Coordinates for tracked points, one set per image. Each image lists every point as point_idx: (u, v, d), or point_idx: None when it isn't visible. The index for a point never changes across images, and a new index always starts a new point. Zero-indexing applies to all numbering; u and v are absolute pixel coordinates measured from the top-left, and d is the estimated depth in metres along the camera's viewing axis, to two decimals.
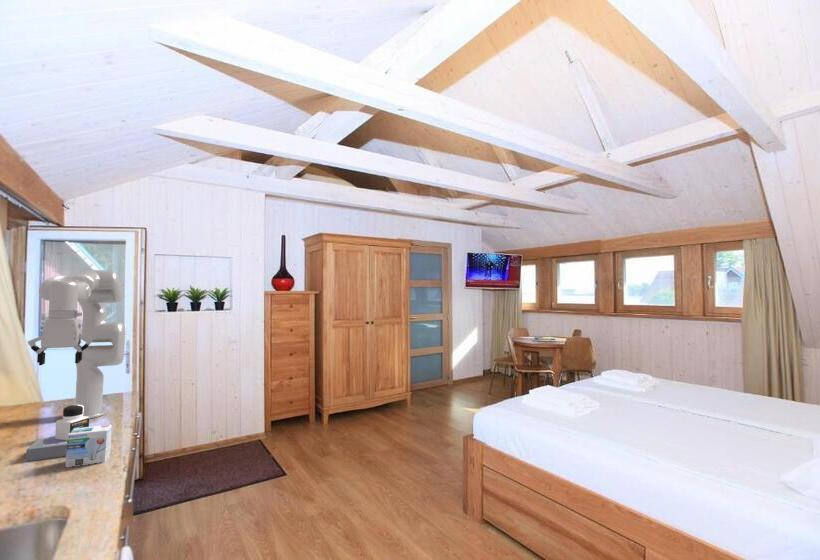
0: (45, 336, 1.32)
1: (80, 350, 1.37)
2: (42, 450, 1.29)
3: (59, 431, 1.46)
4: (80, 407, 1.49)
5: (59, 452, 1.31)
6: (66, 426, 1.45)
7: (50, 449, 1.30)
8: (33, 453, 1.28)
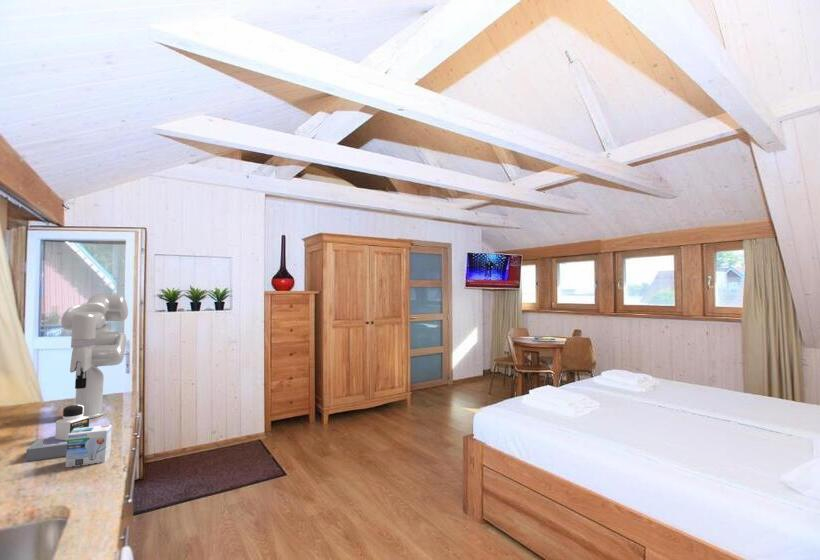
0: (86, 361, 1.55)
1: (85, 375, 1.59)
2: (42, 450, 1.29)
3: (59, 431, 1.46)
4: (80, 407, 1.49)
5: (59, 452, 1.31)
6: (66, 426, 1.45)
7: (50, 449, 1.30)
8: (33, 453, 1.28)
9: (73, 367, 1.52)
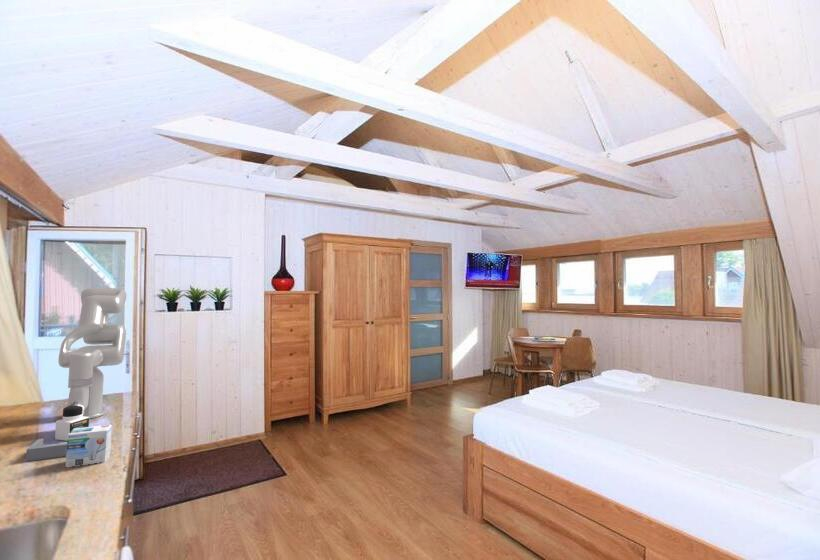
0: (83, 401, 1.54)
1: (83, 415, 1.57)
2: (42, 450, 1.29)
3: (59, 431, 1.45)
4: (80, 407, 1.49)
5: (59, 452, 1.31)
6: (66, 427, 1.45)
7: (50, 449, 1.30)
8: (33, 453, 1.28)
9: None
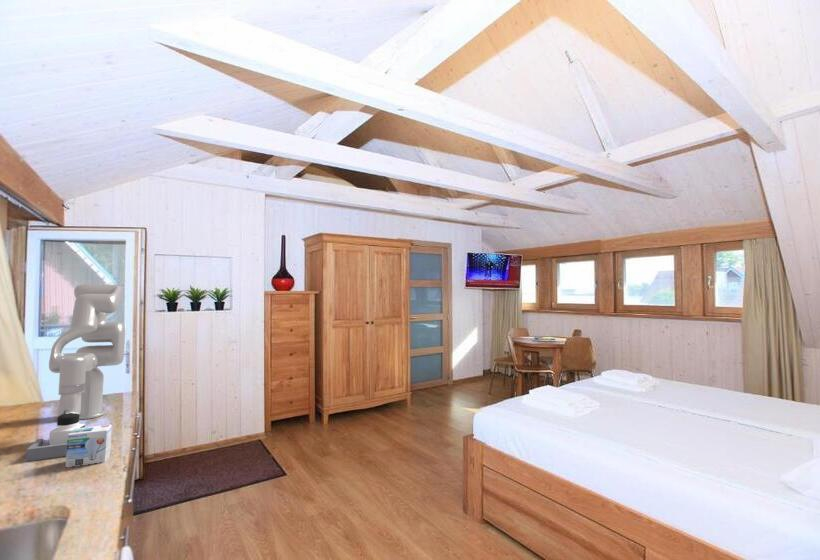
0: (75, 409, 1.43)
1: None
2: (42, 450, 1.29)
3: (55, 442, 1.35)
4: (77, 414, 1.40)
5: (59, 452, 1.31)
6: (65, 436, 1.36)
7: (50, 449, 1.30)
8: (33, 453, 1.28)
9: None
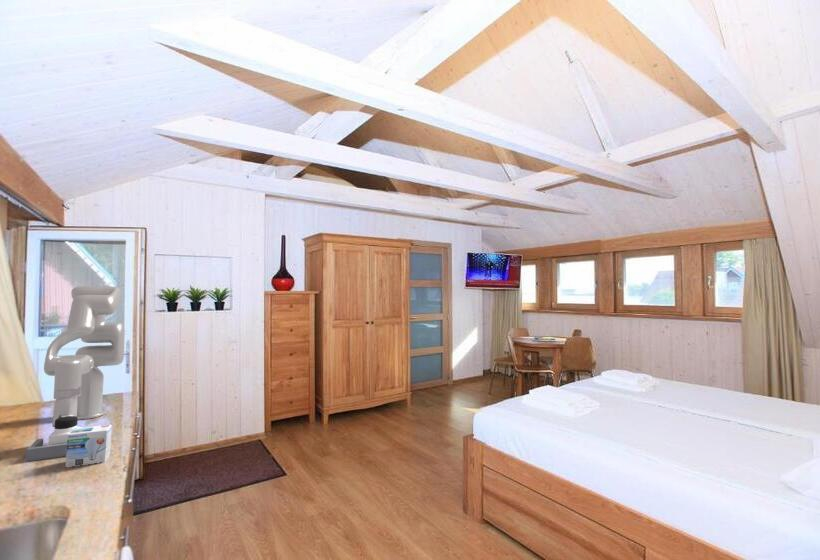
0: (71, 414, 1.39)
1: None
2: (42, 450, 1.29)
3: None
4: (76, 417, 1.38)
5: (59, 452, 1.31)
6: None
7: (50, 449, 1.30)
8: (33, 453, 1.28)
9: None
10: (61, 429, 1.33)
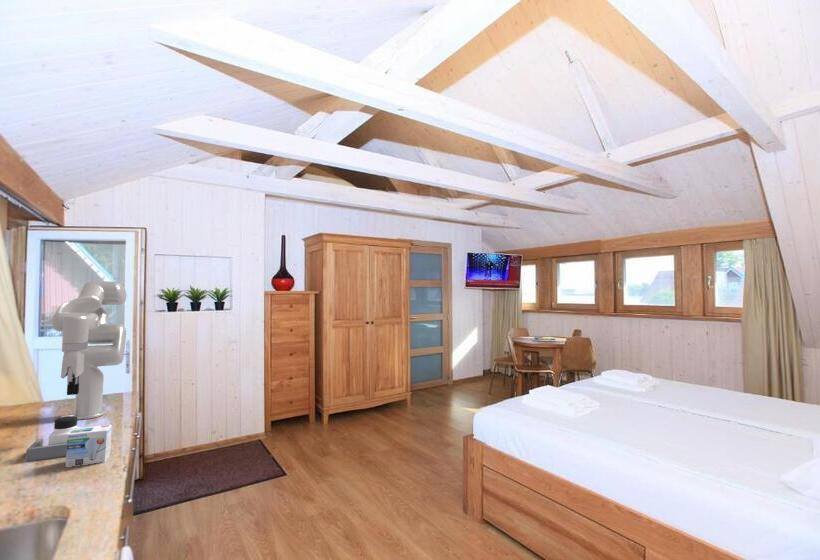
0: (78, 366, 1.45)
1: (78, 381, 1.49)
2: (42, 450, 1.29)
3: None
4: (76, 417, 1.38)
5: (59, 452, 1.31)
6: None
7: (50, 449, 1.30)
8: (33, 453, 1.28)
9: (64, 373, 1.42)
10: (61, 429, 1.33)
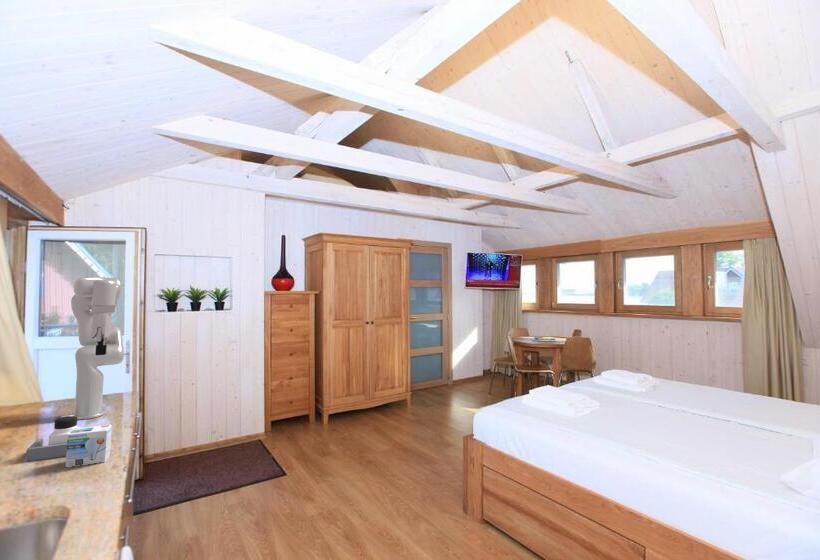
0: (107, 327, 1.54)
1: (105, 343, 1.58)
2: (42, 450, 1.29)
3: None
4: (76, 417, 1.38)
5: (59, 452, 1.31)
6: None
7: (50, 449, 1.30)
8: (33, 453, 1.28)
9: (94, 333, 1.51)
10: (61, 429, 1.33)
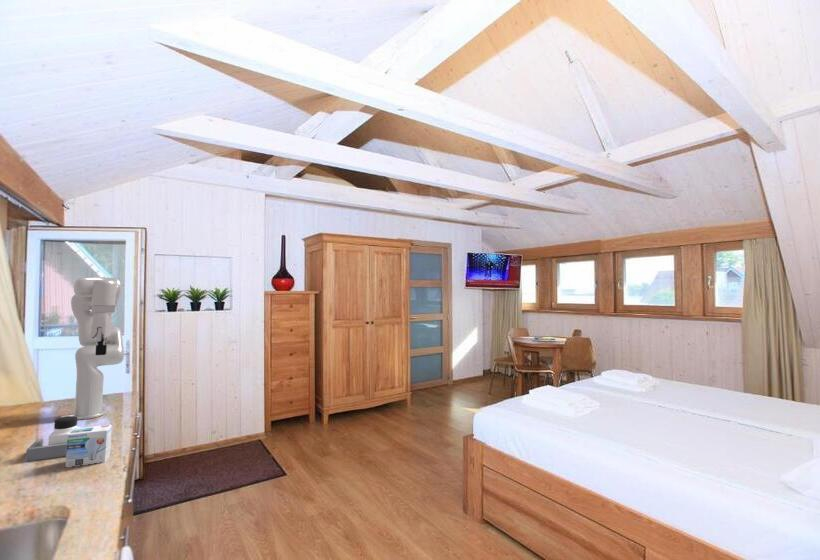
0: (107, 327, 1.54)
1: (105, 343, 1.58)
2: (42, 450, 1.29)
3: None
4: (76, 417, 1.38)
5: (59, 452, 1.31)
6: None
7: (50, 449, 1.30)
8: (33, 453, 1.28)
9: (94, 333, 1.51)
10: (61, 429, 1.33)
